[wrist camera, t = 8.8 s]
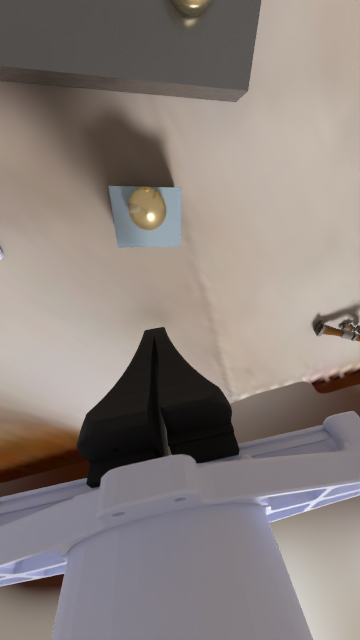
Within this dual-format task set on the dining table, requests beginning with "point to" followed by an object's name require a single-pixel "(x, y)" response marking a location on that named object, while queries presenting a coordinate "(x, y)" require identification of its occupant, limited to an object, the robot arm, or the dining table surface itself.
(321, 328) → the brown angled frame
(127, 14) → the base
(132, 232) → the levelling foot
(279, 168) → the dining table surface
